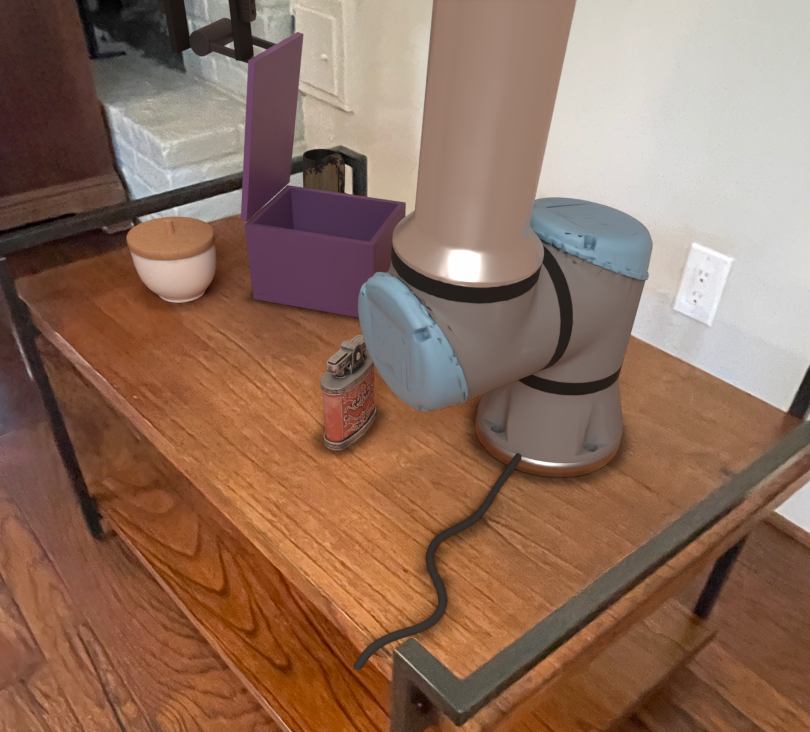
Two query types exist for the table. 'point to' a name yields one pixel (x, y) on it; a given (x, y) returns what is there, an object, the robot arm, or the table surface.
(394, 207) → the purple box base
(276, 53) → the lid
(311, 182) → the mug
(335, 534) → the table surface
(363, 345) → the lighter
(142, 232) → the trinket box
